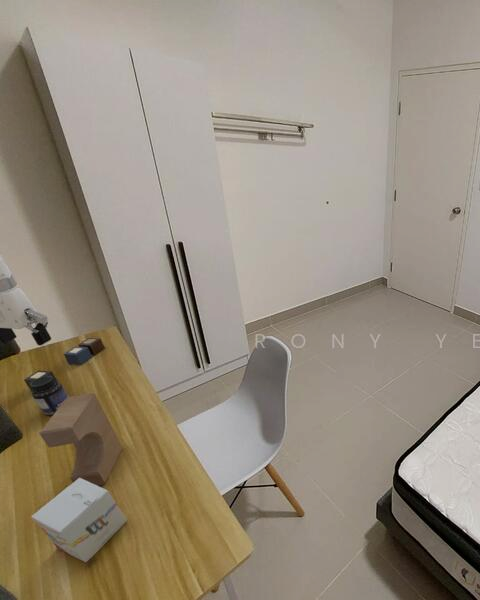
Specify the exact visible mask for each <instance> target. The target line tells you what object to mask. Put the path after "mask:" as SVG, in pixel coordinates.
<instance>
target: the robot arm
mask: <svg viewBox="0 0 480 600" xmlns="http://www.w3.org/2000/svg"><path fill="white" fill-rule="evenodd" d="M33 324H35V326H34V325H33ZM48 325H49V322H48V316H47V315H45V314H42V313H40V312H38V311H37V309H36V308H35V306H34V305H33V303H32V302H31V299H30V298H28V296H27V295H26V293H25V292H24V291H23V290H22V289H21V287H19V284H18V282H17V280H16V279H15V277H14V275H13V274H12V271H11V270H10V268H9V266H8V265H7V263H6V261H5V259H4V257H3V256H2V254H1V253H0V342H1V344H7V343H10V342H11V341H13V340H14V339H16V338H17V335H16V333H15V331H14V329H15V330H21V329H23V328H25V329H27V330H29V331H30V332H31V333H30V335H31V336H32V339H33V340H34V341H35V343H36V345H37V346H43V345H45V344H47V343H48V342H50V341H51V340H52V337H51V335H50V333H49V331H48V330H47V328H48Z"/></svg>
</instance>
